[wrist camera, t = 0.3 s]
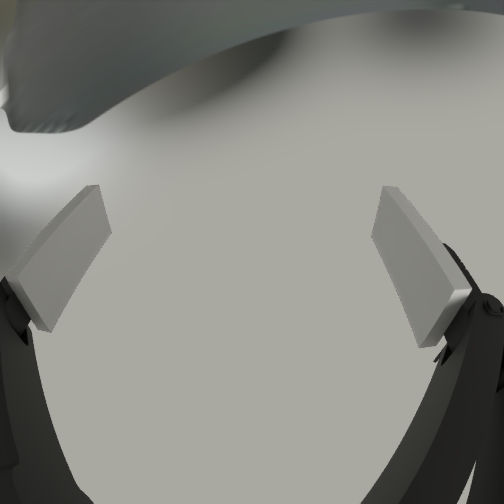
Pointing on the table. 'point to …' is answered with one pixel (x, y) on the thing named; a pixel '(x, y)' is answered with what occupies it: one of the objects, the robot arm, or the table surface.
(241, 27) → the table surface
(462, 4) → the table surface
